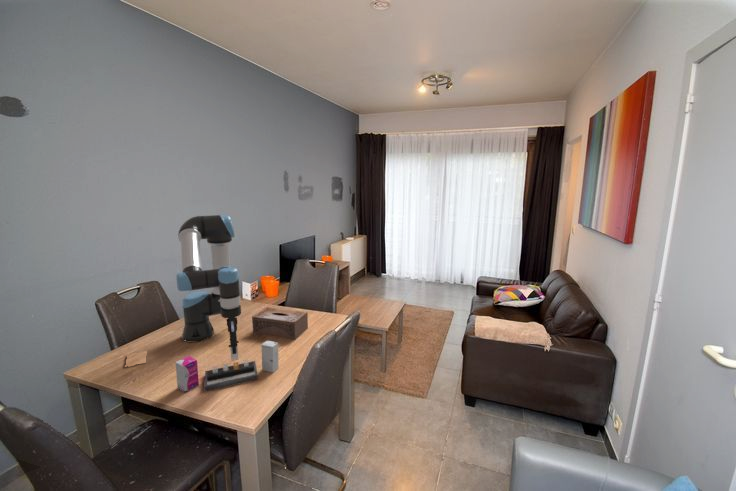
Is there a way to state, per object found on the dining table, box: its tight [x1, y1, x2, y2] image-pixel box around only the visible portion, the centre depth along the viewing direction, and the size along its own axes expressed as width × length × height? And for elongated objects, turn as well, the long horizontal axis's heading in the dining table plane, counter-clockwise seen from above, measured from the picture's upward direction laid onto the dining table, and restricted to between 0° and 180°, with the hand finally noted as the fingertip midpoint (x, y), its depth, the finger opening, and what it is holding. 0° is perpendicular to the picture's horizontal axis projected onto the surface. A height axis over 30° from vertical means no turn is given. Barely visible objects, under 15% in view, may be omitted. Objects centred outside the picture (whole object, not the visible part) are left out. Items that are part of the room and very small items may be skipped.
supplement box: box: [175, 355, 200, 393], centre depth 129 cm, size 6×6×12 cm
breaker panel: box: [203, 359, 259, 392], centre depth 136 cm, size 20×12×6 cm, turn 114°
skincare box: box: [261, 340, 280, 373], centre depth 142 cm, size 6×4×12 cm
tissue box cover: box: [251, 306, 309, 341], centre depth 180 cm, size 26×14×10 cm, turn 74°
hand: (234, 359), depth 136 cm, fingers closed
